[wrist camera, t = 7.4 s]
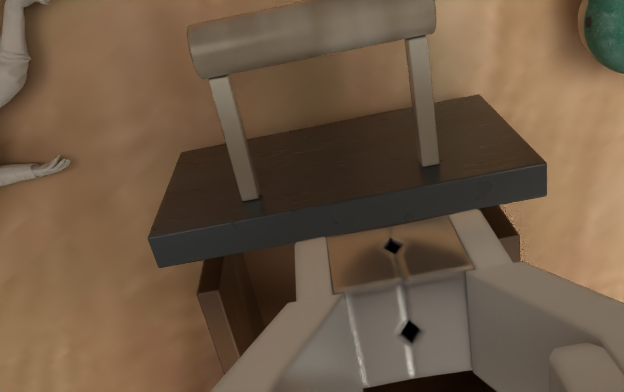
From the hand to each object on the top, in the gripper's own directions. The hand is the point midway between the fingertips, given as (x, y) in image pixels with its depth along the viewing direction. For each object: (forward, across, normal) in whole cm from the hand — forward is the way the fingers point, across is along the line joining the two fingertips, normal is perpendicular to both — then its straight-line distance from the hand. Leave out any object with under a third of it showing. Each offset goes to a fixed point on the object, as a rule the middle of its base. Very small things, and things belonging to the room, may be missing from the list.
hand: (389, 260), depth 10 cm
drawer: (+15, +1, +7) cm, 16 cm away
